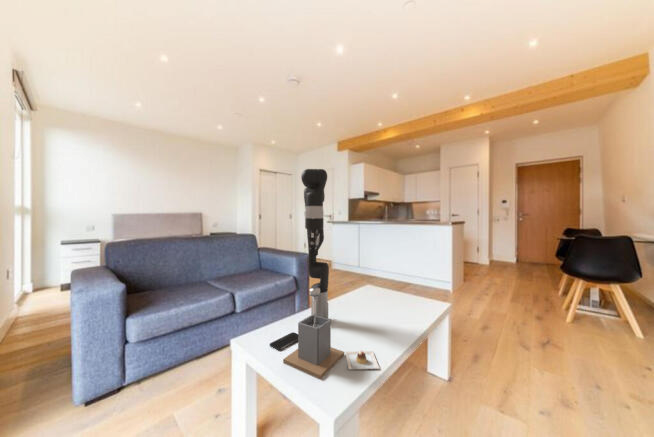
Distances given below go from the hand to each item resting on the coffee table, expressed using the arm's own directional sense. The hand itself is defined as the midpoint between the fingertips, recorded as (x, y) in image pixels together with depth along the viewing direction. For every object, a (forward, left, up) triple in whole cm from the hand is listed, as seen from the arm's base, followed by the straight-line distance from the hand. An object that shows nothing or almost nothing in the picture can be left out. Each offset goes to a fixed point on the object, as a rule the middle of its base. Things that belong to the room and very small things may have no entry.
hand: (314, 256), depth 98 cm
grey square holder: (0, 0, -42) cm, 42 cm away
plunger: (0, 0, -30) cm, 30 cm away
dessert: (-10, +17, -43) cm, 47 cm away
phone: (-4, -19, -43) cm, 47 cm away
